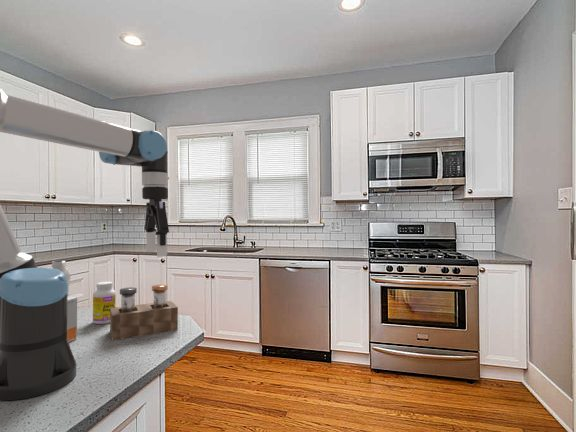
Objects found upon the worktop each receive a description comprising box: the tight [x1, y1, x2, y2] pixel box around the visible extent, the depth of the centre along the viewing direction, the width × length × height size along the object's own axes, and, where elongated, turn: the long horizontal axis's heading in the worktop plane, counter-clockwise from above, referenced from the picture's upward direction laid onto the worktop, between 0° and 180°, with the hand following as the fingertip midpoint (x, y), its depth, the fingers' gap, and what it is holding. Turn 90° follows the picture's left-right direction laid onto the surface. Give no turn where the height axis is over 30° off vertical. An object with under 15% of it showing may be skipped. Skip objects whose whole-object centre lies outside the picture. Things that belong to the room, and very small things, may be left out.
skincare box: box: [67, 296, 78, 343], centre depth 96 cm, size 6×4×12 cm
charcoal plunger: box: [119, 287, 138, 313], centre depth 103 cm, size 5×5×9 cm
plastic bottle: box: [51, 259, 71, 297], centre depth 113 cm, size 6×7×20 cm
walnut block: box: [109, 300, 179, 341], centre depth 106 cm, size 18×9×7 cm, turn 121°
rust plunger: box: [151, 284, 169, 309], centre depth 108 cm, size 5×5×9 cm
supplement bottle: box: [92, 281, 117, 325], centre depth 114 cm, size 7×7×13 cm
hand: (156, 254), depth 109 cm, fingers open, 13 cm apart
